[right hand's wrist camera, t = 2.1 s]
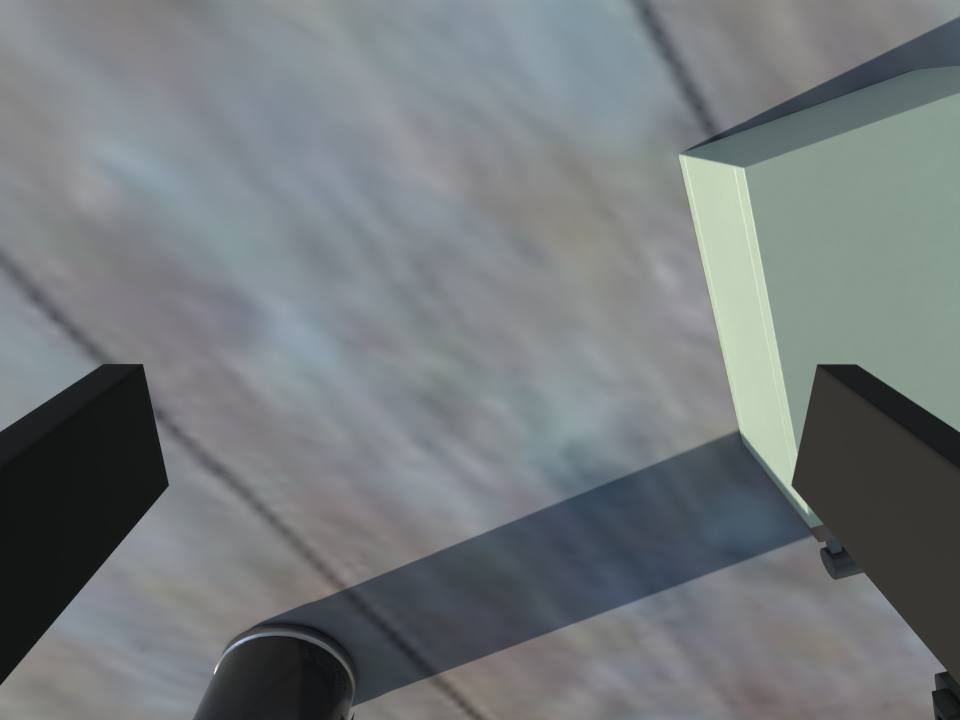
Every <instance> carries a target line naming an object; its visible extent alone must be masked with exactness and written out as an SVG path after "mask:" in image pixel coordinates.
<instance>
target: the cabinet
mask: <svg viewBox="0 0 960 720" xmlns="http://www.w3.org/2000/svg"><path fill="white" fill-rule="evenodd" d="M679 159H680V163H681V168H682V172H683V177H684V181H685V186H686V190H687V195H688V199H689V204H690V208H691V213H692V217H693V222H694V226H695V231H696V235H697V240H698V244H699V249H700V253H701V258H702V262H703V267H704V271H705V276H706V280H707V285H708V289H709V294H710V298H711V303H712V307H713V312H714V316H715V321H716V325H717V330H718V334H719V339H720V343H721V348H722V352H723V357H724V361H725V366H726V370H727V375H728V379H729V384H730V388H731V393H732V397H733V402H734V406H735V411H736V415H737V420H738V424H739V429H740V433H741V438H742V442H743V443H744V445H745V446H746V447H747V448H748V449H749V451H750V452H751V453H752V455H753V456H754V457H755V458H756V460H757V461H758V462H759V463H760V465H761V466H762V467H763V468H764V470H765V471H766V472H767V474H768V475H769V476H770V477H771V479H772V480H773V481H774V482H775V484H776V485H777V486H778V487H779V489H780V490H781V491H782V492H783V494H784V495H785V496H786V497H787V499H788V500H789V501H790V502H791V504H792V505H793V506H794V507H795V509H796V510H797V511H798V512H799V514H800V515H801V517H802V518H803V519H804V520H805V522H806V523H807V524H808V525H809V527H810V528H812V527H816V526H819V525H823V523H822V522H821V520H820V519H819V518H818V517H817V516H816V514H815V513H814V512H813V511H812V510H811V509H810V507H809V506H808V505H807V504H806V503H805V501H804V500H803V499H802V498H801V497H800V495H799V494H798V493H797V492H796V491H795V490H794V488H793V487H792V486H791V484H792V479H793V474H794V470H795V465H796V460H797V456H798V451H799V446H800V442H801V437H802V432H803V428H804V423H805V418H806V414H807V409H808V405H809V400H810V395H811V391H812V386H813V381H814V377H815V372H816V367H817V364H857V365H858V366H860V367H861V368H863V369H865V370H866V371H868V372H869V373H871V374H872V375H874V376H875V377H877V378H878V379H880V380H881V381H883V382H884V383H886V384H887V385H889V386H890V387H892V388H893V389H895V390H896V391H898V392H900V393H901V394H903V395H904V396H906V397H907V398H909V399H910V400H912V401H913V402H915V403H916V404H918V405H919V406H921V407H922V408H924V409H925V410H927V411H928V412H930V413H931V414H933V415H935V416H936V417H938V418H939V419H941V420H942V421H944V422H945V423H947V424H948V425H950V426H951V427H953V428H954V429H956V430H957V431H959V432H960V65H959V66H948V67H938V68H928V69H919V70H913V71H910V72H908V73H905V74H902V75H899V76H896V77H894V78H891V79H888V80H885V81H882V82H880V83H877V84H874V85H871V86H868V87H866V88H863V89H860V90H857V91H854V92H851V93H849V94H846V95H843V96H840V97H837V98H835V99H832V100H829V101H826V102H823V103H821V104H818V105H815V106H812V107H809V108H807V109H804V110H801V111H798V112H795V113H793V114H790V115H787V116H784V117H781V118H779V119H776V120H773V121H770V122H767V123H765V124H762V125H759V126H756V127H753V128H751V129H748V130H745V131H742V132H739V133H736V134H734V135H731V136H728V137H725V138H722V139H720V140H717V141H714V142H711V143H708V144H706V145H703V146H700V147H697V148H694V149H692V150H689V151H686V152H683V153H680V154H679Z"/></svg>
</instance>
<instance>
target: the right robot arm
mask: <svg viewBox="0 0 960 720" xmlns="http://www.w3.org/2000/svg"><path fill="white" fill-rule="evenodd" d="M168 486H169V484H168V479H167V474H166V470H165V465H164V460H163V456H162V451H161V446H160V442H159V437H158V432H157V428H156V423H155V418H154V414H153V409H152V405H151V400H150V395H149V391H148V386H147V381H146V377H145V372H144V367H143V364H103V365H102V366H100V367H99V368H97V369H95V370H94V371H92V372H91V373H89V374H88V375H86V376H85V377H83V378H82V379H80V380H79V381H77V382H76V383H74V384H73V385H71V386H70V387H68V388H67V389H65V390H64V391H62V392H60V393H59V394H57V395H56V396H54V397H53V398H51V399H50V400H48V401H47V402H45V403H44V404H42V405H41V406H39V407H38V408H36V409H35V410H33V411H32V412H30V413H29V414H27V415H25V416H24V417H22V418H21V419H19V420H18V421H16V422H15V423H13V424H12V425H10V426H9V427H7V428H6V429H4V430H3V431H1V432H0V685H1V684H2V683H3V682H4V680H5V679H6V678H7V677H8V676H9V674H10V673H11V672H12V671H13V670H14V669H15V667H16V666H17V665H18V664H19V663H20V661H21V660H22V659H23V658H24V657H25V656H26V654H27V653H28V652H29V651H30V650H31V648H32V647H33V646H34V645H35V644H36V642H37V641H38V640H39V639H40V638H41V637H42V635H43V634H44V633H45V632H46V631H47V629H48V628H49V627H50V626H51V625H52V624H53V622H54V621H55V620H56V619H57V618H58V616H59V615H60V614H61V613H62V612H63V610H64V609H65V608H66V607H67V606H68V605H69V603H70V602H71V601H72V600H73V599H74V597H75V596H76V595H77V594H78V593H79V592H80V590H81V589H82V588H83V587H84V586H85V584H86V583H87V582H88V581H89V580H90V578H91V577H92V576H93V575H94V574H95V573H96V571H97V570H98V569H99V568H100V567H101V565H102V564H103V563H104V562H105V561H106V560H107V558H108V557H109V556H110V555H111V554H112V552H113V551H114V550H115V549H116V548H117V546H118V545H119V544H120V543H121V542H122V541H123V539H124V538H125V537H126V536H127V535H128V533H129V532H130V531H131V530H132V529H133V527H134V526H135V525H136V524H137V523H138V522H139V520H140V519H141V518H142V517H143V516H144V514H145V513H146V512H147V511H148V510H149V509H150V507H151V506H152V505H153V504H154V503H155V501H156V500H157V499H158V498H159V497H160V495H161V494H162V493H163V492H164V491H165V490H166V488H167V487H168ZM791 486H792V487H793V488H794V490H795V491H796V492H797V493H798V494H799V495H800V497H801V498H802V499H803V500H804V501H805V503H806V504H807V505H808V506H809V507H810V509H811V510H812V511H813V512H814V513H815V514H816V516H817V517H818V518H819V519H820V520H821V522H822V523H823V524H824V525H825V526H826V527H827V529H828V530H829V531H830V532H831V533H832V535H833V536H834V537H835V538H836V539H837V541H838V542H839V543H840V544H841V545H842V546H843V548H844V549H845V550H846V551H847V552H848V554H849V555H850V556H851V557H852V558H853V560H854V561H855V562H856V563H857V564H858V565H859V567H860V568H861V569H862V570H863V571H864V573H865V574H866V575H867V576H868V577H869V578H870V580H871V581H872V582H873V583H874V584H875V586H876V587H877V588H878V589H879V590H880V592H881V593H882V594H883V595H884V596H885V597H886V599H887V600H888V601H889V602H890V603H891V605H892V606H893V607H894V608H895V609H896V610H897V612H898V613H899V614H900V615H901V616H902V618H903V619H904V620H905V621H906V622H907V624H908V625H909V626H910V627H911V628H912V629H913V631H914V632H915V633H916V634H917V635H918V637H919V638H920V639H921V640H922V641H923V642H924V644H925V645H926V646H927V647H928V648H929V650H930V651H931V652H932V653H933V654H934V656H935V657H936V658H937V659H938V660H939V661H940V663H941V664H942V665H943V666H944V667H945V669H946V670H947V671H948V672H949V673H950V674H951V676H952V677H953V678H954V679H955V680H956V682H957V683H958V684H959V685H960V432H959V431H957V430H956V429H954V428H953V427H951V426H950V425H948V424H947V423H945V422H944V421H942V420H941V419H939V418H938V417H936V416H935V415H933V414H931V413H930V412H928V411H927V410H925V409H924V408H922V407H921V406H919V405H918V404H916V403H915V402H913V401H912V400H910V399H909V398H907V397H906V396H904V395H903V394H901V393H900V392H898V391H896V390H895V389H893V388H892V387H890V386H889V385H887V384H886V383H884V382H883V381H881V380H880V379H878V378H877V377H875V376H874V375H872V374H871V373H869V372H868V371H866V370H865V369H863V368H861V367H860V366H858V365H857V364H817V367H816V372H815V377H814V381H813V386H812V391H811V395H810V400H809V405H808V409H807V414H806V418H805V423H804V428H803V432H802V437H801V442H800V446H799V451H798V456H797V460H796V465H795V470H794V474H793V479H792V484H791Z"/></svg>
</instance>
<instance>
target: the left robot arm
mask: <svg viewBox="0 0 960 720" xmlns="http://www.w3.org/2000/svg"><path fill="white" fill-rule="evenodd" d="M935 684H936V691H932V698H933V706H934V715H935V719H936V720H960V685H959V684H958V683H957V682H956V680H955V679H954V678H953V677H952V676H951V674H950V673H949V672H948V671H946V672H942V673H938V674H935ZM356 686H357V674H356V670H355V667H354V664H353V662H352V660H351V658H350V657H349V655H348V654H347V653H346V652H345V650H344V649H343V648H342V647H341V646H340V645H338V644H337V643H336V642H335V641H333V640H332V639H331V638H329V637H327V636H326V635H324V634H322V633H320V632H318V631H315V630H312V629H309V628H306V627H302V626H298V625H291V624H269V625H263V626H259V627H255V628H252V629H250V630H247V631H245V632H243V633H241V634H240V635H238V636H237V637H235V638H234V639H233V640H232V641H231V642H230V643H229V644H228V645H227V647H226V648H225V650H224V651H223V653H222V655H221V657H220V660H219V662H218V664H217V666H216V669H215V673H214V676H213V678H212V680H211V682H210V684H209V686H208V688H207V691H206V693H205V695H204V697H203V699H202V701H201V703H200V705H199V707H198V709H197V711H196V713H195V716H194V718H193V720H348V716H349V711H350V708H351V706H352V704H353V700H354V696H355V691H356ZM354 713H355V712H354ZM353 717H354V715H353ZM353 717H352V719H351V720H353Z"/></svg>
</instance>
